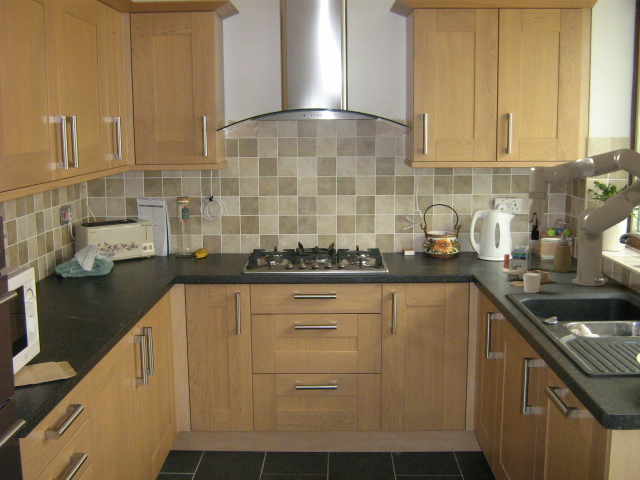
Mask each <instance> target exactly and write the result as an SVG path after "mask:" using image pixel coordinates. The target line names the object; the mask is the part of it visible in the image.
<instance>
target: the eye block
mask: <svg viewBox="0 0 640 480" xmlns="http://www.w3.org/2000/svg"><path fill="white" fill-rule="evenodd" d="M526 273H538V274H541V279H540V284H545V283H550V282H551V281H550V278H551V277H550V276H551V273H550V272H548V271H543V270H539V269H536V270H529V271H527V272H526Z"/></svg>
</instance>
